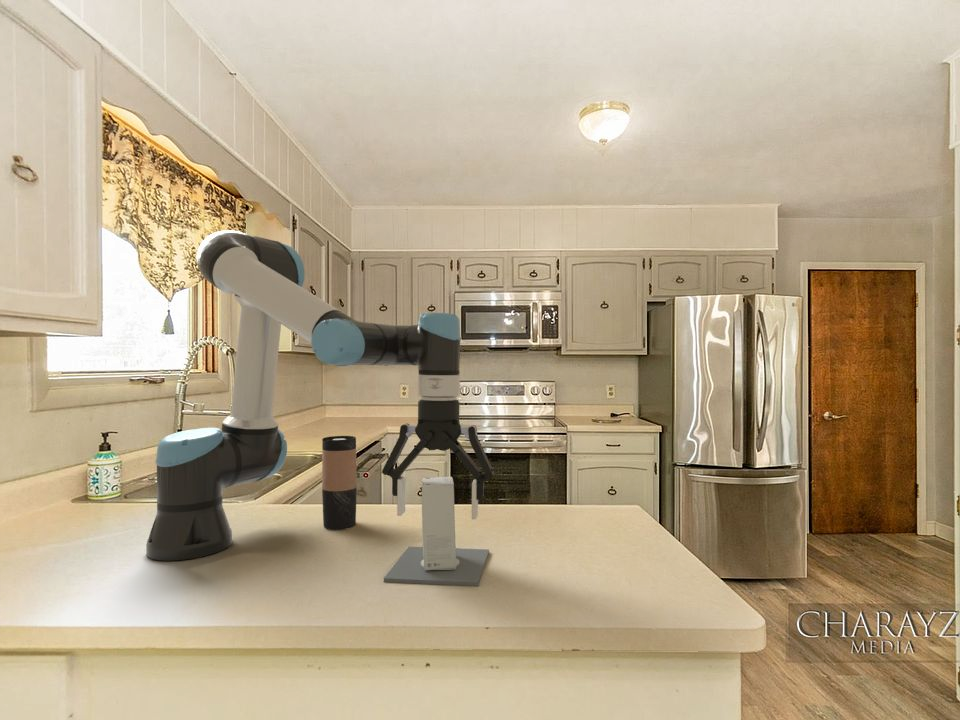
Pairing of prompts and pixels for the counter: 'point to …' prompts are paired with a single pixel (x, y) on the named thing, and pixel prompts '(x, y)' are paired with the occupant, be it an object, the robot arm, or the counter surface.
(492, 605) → the counter surface
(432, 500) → the skincare box
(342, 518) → the travel mug
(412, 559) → the mat
